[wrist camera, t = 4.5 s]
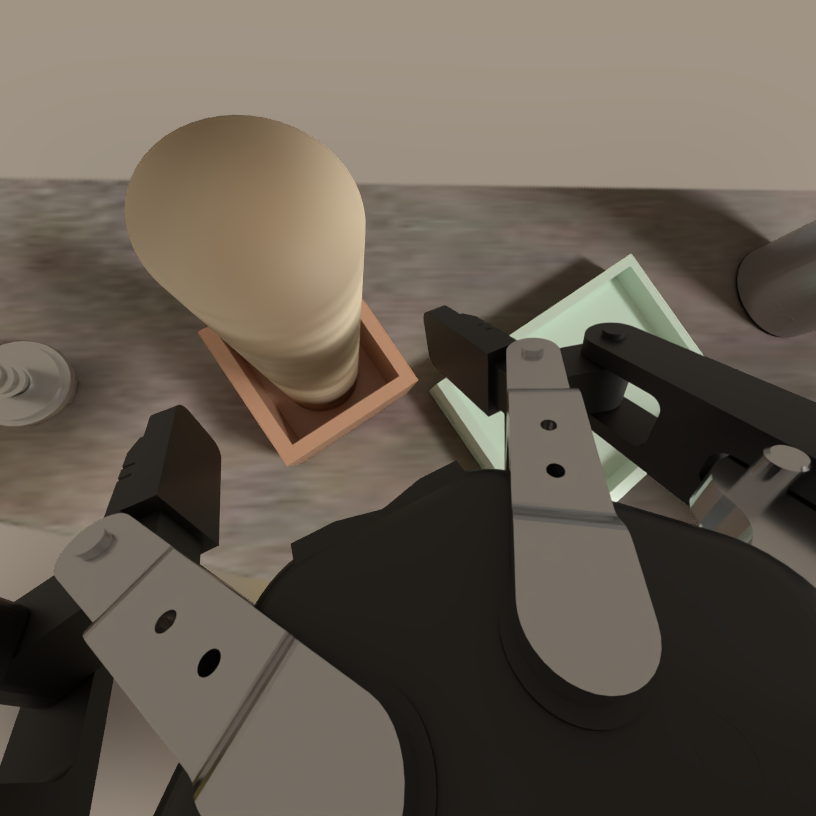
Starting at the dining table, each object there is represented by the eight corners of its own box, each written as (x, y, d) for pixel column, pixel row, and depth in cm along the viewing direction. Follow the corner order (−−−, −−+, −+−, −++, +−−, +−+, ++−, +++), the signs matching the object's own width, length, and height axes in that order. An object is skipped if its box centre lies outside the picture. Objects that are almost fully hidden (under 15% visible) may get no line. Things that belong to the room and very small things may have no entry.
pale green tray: (607, 270, 28) (631, 253, 26) (698, 400, 28) (732, 395, 25) (428, 390, 24) (436, 383, 21) (534, 546, 23) (556, 557, 21)
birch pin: (331, 327, 22) (290, 86, 8) (371, 385, 22) (406, 255, 8) (267, 364, 21) (75, 164, 7) (309, 425, 21) (207, 362, 6)
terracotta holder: (339, 300, 23) (336, 260, 19) (404, 395, 23) (418, 379, 18) (232, 359, 22) (197, 331, 17) (302, 463, 21) (287, 466, 17)
